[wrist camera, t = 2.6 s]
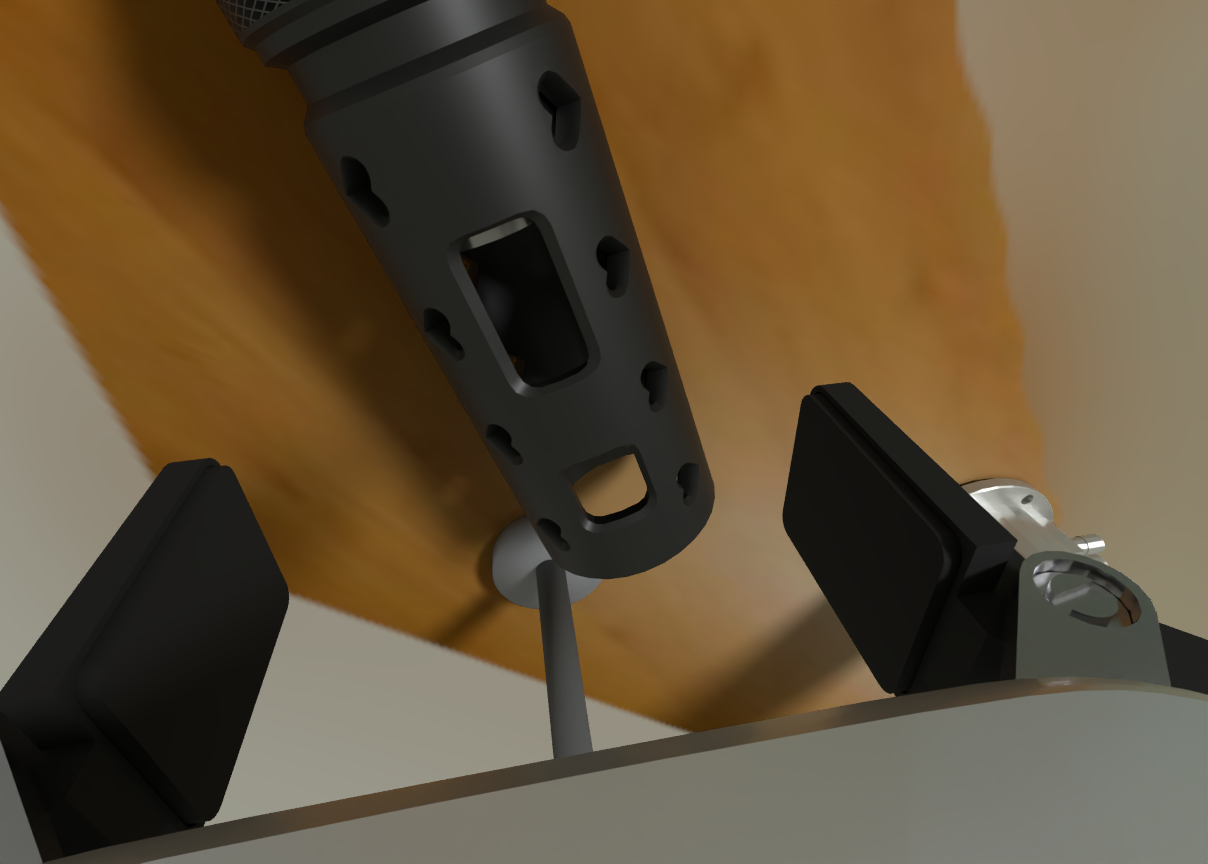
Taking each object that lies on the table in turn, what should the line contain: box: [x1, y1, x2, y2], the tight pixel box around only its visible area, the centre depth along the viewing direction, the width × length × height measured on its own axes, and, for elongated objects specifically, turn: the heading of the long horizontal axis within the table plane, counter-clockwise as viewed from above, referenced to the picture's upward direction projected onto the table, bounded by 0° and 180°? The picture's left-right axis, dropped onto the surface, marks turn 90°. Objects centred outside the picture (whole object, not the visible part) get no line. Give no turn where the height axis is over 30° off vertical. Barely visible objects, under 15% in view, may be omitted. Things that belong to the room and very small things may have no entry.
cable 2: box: [492, 516, 602, 759], centre depth 32 cm, size 7×7×16 cm
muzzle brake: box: [216, 0, 715, 579], centre depth 23 cm, size 10×28×10 cm, turn 19°
